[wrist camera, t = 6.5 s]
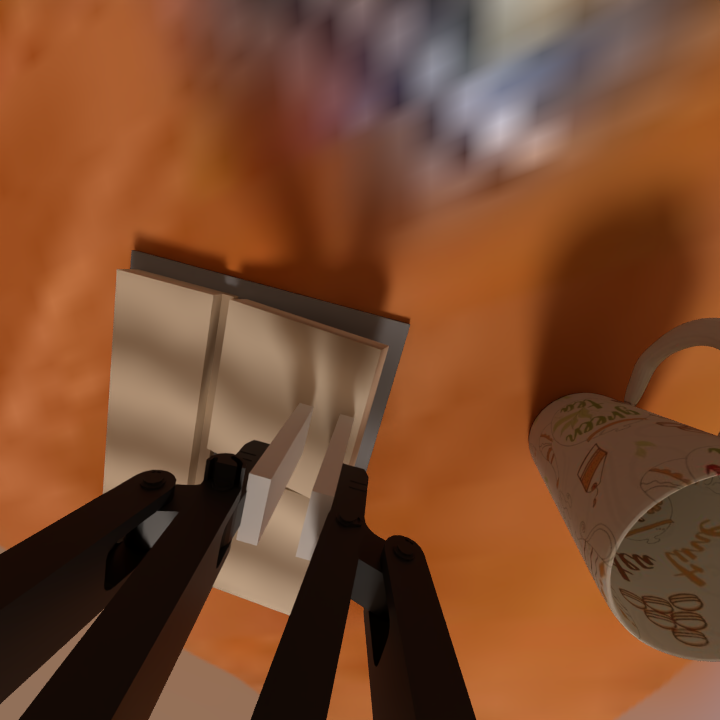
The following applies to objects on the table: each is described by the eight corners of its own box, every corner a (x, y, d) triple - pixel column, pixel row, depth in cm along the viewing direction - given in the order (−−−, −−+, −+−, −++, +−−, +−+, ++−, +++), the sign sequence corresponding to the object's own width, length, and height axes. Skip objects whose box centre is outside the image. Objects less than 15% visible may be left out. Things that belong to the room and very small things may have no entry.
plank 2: (221, 451, 23) (208, 463, 22) (349, 494, 22) (344, 509, 21) (203, 561, 25) (190, 578, 24) (317, 603, 25) (311, 623, 23)
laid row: (135, 250, 20) (109, 248, 19) (409, 323, 20) (412, 329, 18) (113, 541, 26) (91, 563, 24) (327, 599, 26) (322, 626, 24)
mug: (492, 479, 23) (571, 634, 13) (558, 289, 19) (732, 308, 10) (616, 506, 22) (791, 684, 13) (705, 320, 19) (1031, 371, 9)
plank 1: (246, 299, 20) (229, 299, 19) (389, 345, 18) (381, 350, 16) (223, 439, 23) (207, 448, 21) (345, 496, 20) (335, 510, 19)
